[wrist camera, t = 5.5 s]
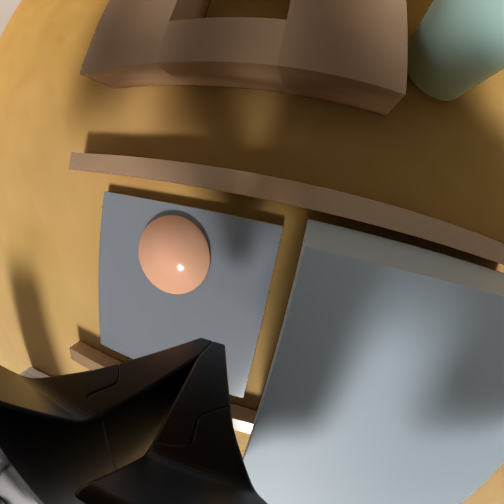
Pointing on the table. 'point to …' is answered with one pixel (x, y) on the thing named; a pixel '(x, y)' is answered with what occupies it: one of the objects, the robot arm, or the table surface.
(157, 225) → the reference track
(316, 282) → the cover
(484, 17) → the teal peg
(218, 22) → the board
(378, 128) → the table surface
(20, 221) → the table surface
